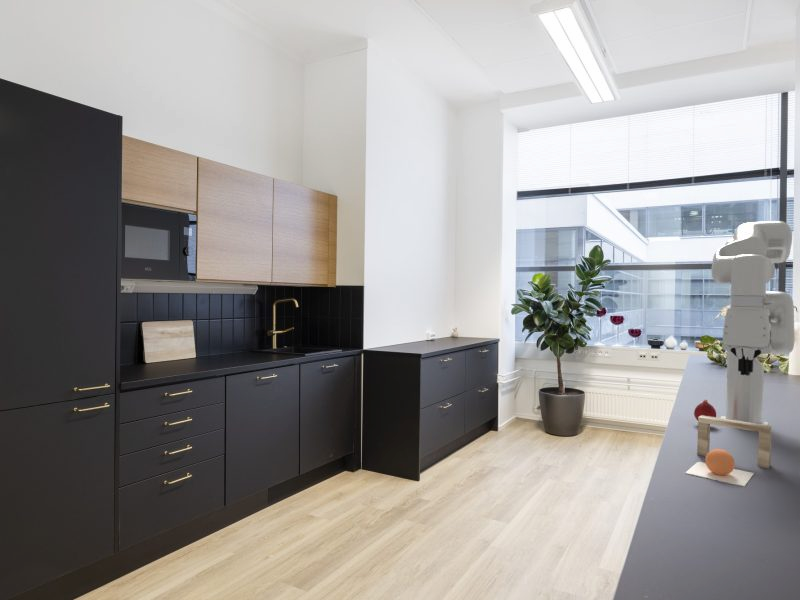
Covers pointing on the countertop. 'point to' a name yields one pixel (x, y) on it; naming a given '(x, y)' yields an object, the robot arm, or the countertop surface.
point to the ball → (720, 462)
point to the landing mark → (733, 478)
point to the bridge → (763, 430)
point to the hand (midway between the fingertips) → (745, 374)
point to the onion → (704, 410)
